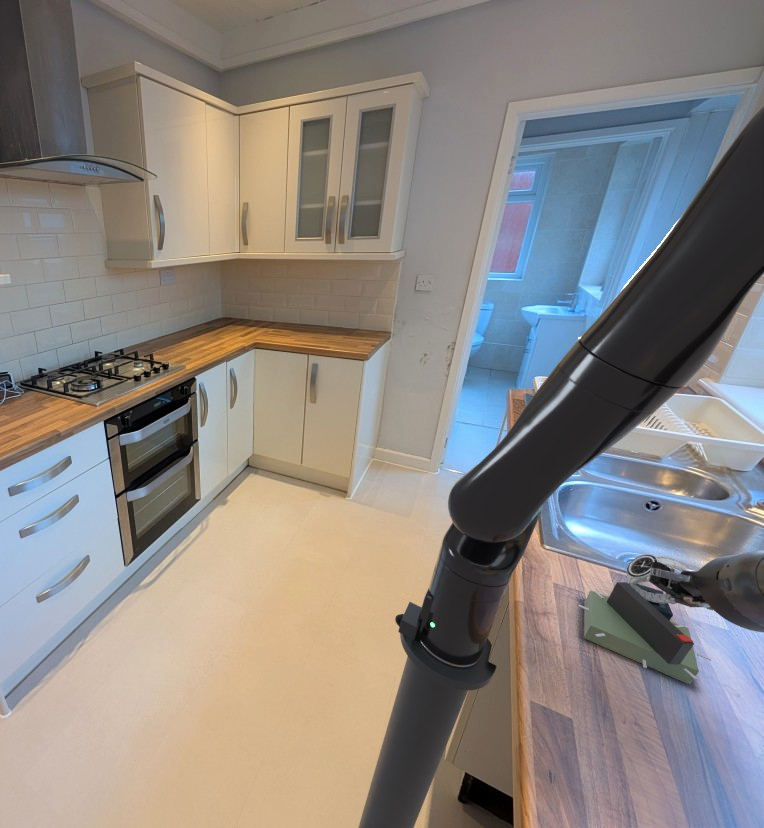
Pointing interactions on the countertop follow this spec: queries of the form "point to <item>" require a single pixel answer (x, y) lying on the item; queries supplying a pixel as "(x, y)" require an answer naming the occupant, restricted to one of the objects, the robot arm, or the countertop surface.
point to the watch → (641, 573)
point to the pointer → (650, 623)
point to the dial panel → (631, 639)
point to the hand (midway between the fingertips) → (682, 596)
